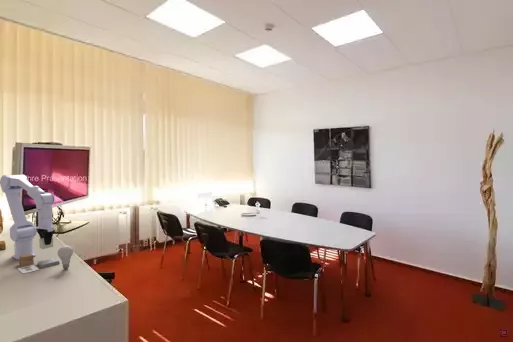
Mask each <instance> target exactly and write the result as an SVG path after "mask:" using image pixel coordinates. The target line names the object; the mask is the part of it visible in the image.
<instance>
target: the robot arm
mask: <svg viewBox="0 0 513 342" xmlns="http://www.w3.org/2000/svg"><path fill="white" fill-rule="evenodd" d="M0 187H1V190H2V193H3V194H5V197H6V200H7V201H6V202H7V203H8V207H9V211H10V213H11V217H12V220H13V224H12V225H11V226H10V228H9V238H10V239H11V240H12V242H14V245H13V247H14V250H13V251H14V254H12V258H14V259H15V260H18V261H19V256H20V255H24V254H29V253H31V254H33V257H36V256H37V255H36V254H35V253H34V250H33V249H34V245H33V243H34V241H33V240H34V239H35V237H36V235H37V233H38V235H39V236H38V237H39V239H41V238H44V243H45V245H49V244H51V240H52V238H53V236H54V234H55V232H56V230H55V229H54V228H53V227H54V224H53V209H52V208H53V206H52V205H53V204H54V202H55V195H54V194H53V193H52V192H45V190H43V189H42V188H40V186H38V185H33V184H32V183H31V182H29V179H28V176H27V175H25V174H12V175H11V174H10V175H9V174H7V175H6V174H4V175H2V176H1V177H0ZM23 190H25V191H26V194H27V196H29V197H30V198H31V199H33V201H34V204H35V207H36V210H37V220H38V221H37V223H38V224H37V226H35V225H34V223H33V222H32V221H29V220H28V219H27V216H26V213H25V211H24V210H25V209H24V206H23V204H22V202H21V198H20V195H19V193H20V192H22V191H23Z"/></svg>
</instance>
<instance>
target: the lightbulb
mask: <svg viewBox="0 0 513 342" xmlns="http://www.w3.org/2000/svg"><path fill="white" fill-rule="evenodd" d="M73 253H74V248H73V247H72V246H70V245H62V246H61V247H59V249H58V250H57V256H58V257H59V259H60V261H61V264H62V269H64V270H68V268H70V263H71V258H72V256H73V255H74V254H73Z"/></svg>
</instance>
